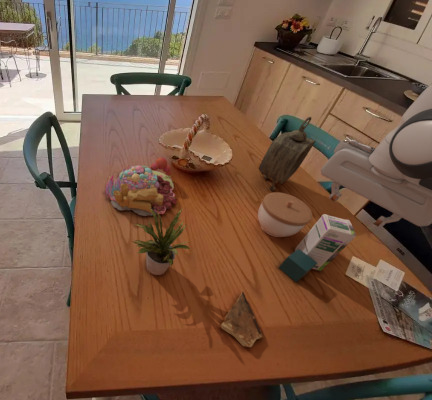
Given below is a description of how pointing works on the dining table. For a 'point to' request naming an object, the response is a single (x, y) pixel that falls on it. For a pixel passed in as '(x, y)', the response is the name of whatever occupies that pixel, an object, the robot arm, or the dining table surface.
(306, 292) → the dining table surface
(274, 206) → the lidded bowl
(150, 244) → the house plant
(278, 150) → the old cowbell
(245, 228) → the dining table surface
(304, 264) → the block
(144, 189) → the candy landscape model
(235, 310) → the shard
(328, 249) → the syrup box
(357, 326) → the dining table surface
